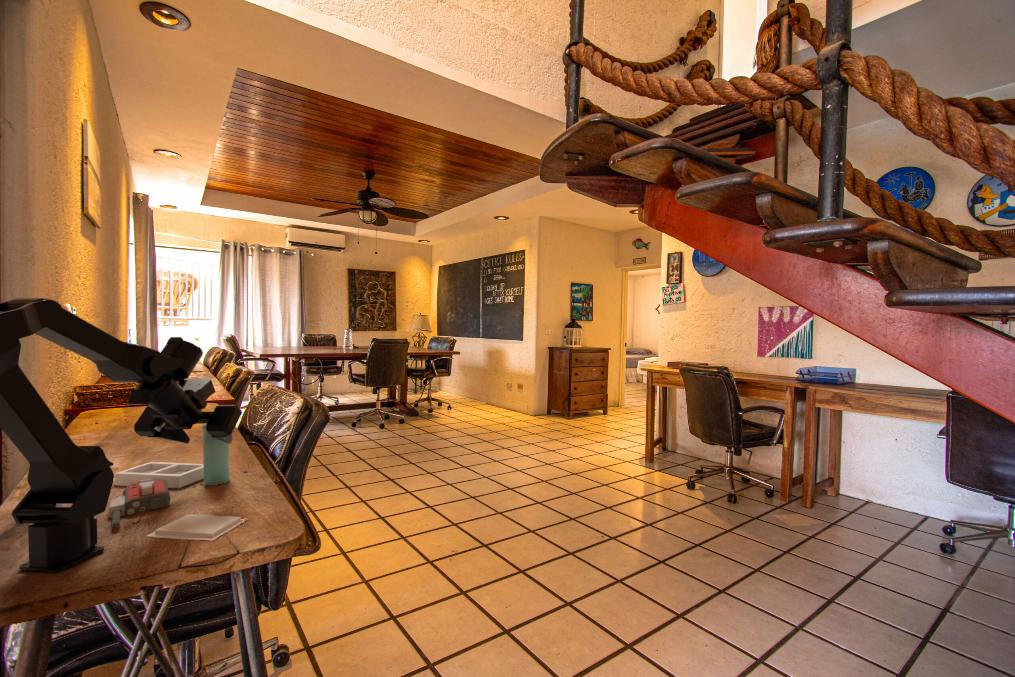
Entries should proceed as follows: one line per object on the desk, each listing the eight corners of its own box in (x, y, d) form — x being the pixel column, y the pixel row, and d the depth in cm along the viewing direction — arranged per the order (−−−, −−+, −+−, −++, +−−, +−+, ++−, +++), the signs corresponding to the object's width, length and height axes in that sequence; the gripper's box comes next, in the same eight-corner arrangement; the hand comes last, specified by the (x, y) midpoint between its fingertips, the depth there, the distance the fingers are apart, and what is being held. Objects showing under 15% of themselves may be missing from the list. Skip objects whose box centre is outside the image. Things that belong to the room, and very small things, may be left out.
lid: (248, 523, 78) (248, 515, 78) (212, 545, 70) (212, 536, 70) (187, 519, 80) (187, 512, 80) (145, 540, 72) (145, 532, 72)
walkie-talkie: (111, 500, 88) (107, 535, 73) (110, 478, 88) (106, 509, 73) (166, 490, 94) (173, 520, 79) (166, 469, 94) (173, 496, 79)
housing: (178, 488, 94) (178, 476, 94) (113, 485, 96) (113, 473, 96) (212, 474, 103) (212, 463, 103) (151, 472, 105) (151, 461, 105)
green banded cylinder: (218, 486, 95) (217, 426, 95) (197, 485, 96) (196, 425, 95) (235, 478, 100) (234, 421, 100) (215, 478, 100) (214, 420, 100)
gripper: (235, 366, 90) (266, 410, 101) (143, 366, 90) (185, 410, 101) (209, 412, 82) (246, 454, 93) (109, 412, 82) (159, 454, 93)
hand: (209, 441), depth 95 cm, fingers open, 9 cm apart
